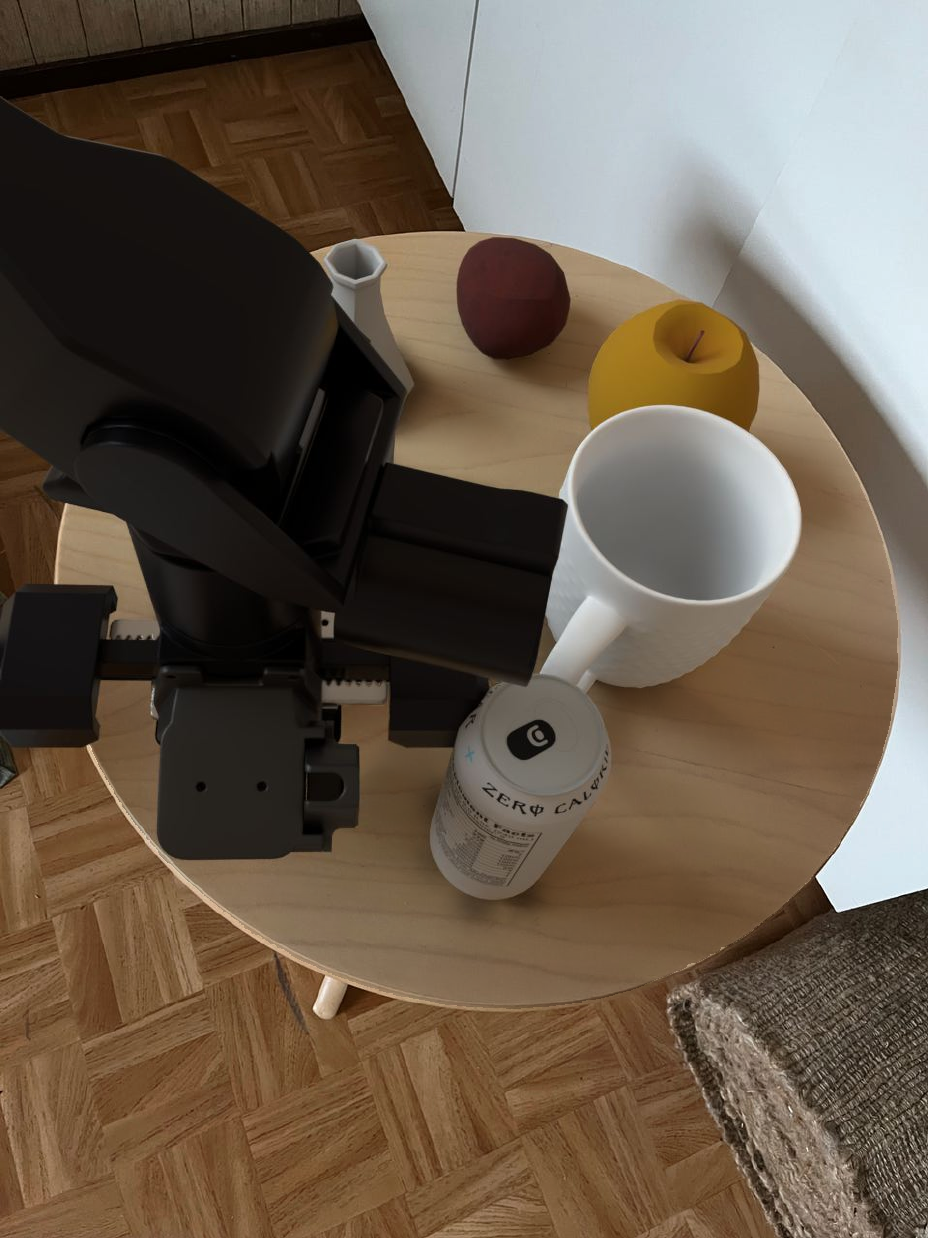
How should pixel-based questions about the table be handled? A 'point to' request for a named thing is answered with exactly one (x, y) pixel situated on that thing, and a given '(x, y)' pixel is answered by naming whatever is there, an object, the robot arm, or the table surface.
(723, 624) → the mug
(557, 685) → the energy drink can
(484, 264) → the potato
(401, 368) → the flask
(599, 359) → the apple
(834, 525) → the table surface
